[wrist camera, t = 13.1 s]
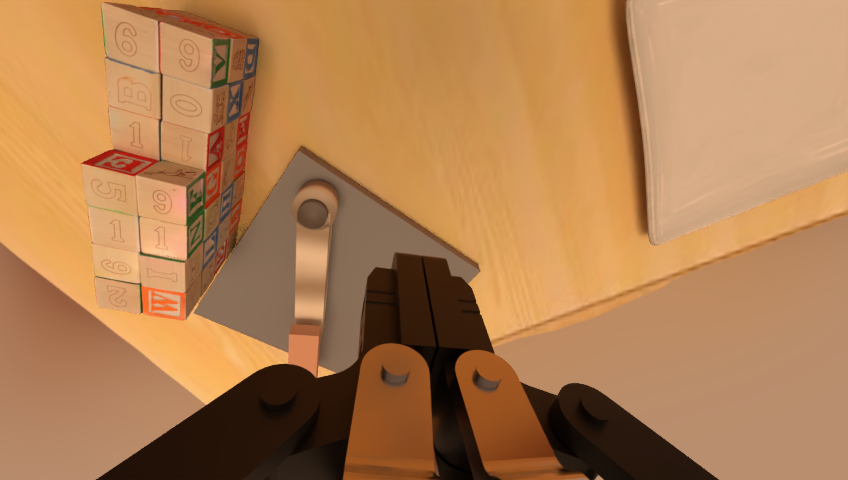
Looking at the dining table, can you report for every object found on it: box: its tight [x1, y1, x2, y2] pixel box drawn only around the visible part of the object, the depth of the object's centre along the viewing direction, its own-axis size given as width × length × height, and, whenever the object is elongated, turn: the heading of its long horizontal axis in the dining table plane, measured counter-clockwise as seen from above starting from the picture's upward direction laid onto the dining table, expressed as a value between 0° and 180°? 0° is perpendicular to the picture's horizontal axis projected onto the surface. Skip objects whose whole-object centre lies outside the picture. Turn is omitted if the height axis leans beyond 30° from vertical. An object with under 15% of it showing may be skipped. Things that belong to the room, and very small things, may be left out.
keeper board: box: [194, 146, 480, 378], centre depth 40 cm, size 24×24×8 cm
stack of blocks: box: [81, 2, 259, 320], centre depth 29 cm, size 21×6×12 cm, turn 161°
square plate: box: [625, 0, 848, 245], centre depth 35 cm, size 27×27×4 cm
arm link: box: [291, 180, 339, 344], centre depth 37 cm, size 19×4×4 cm, turn 169°
